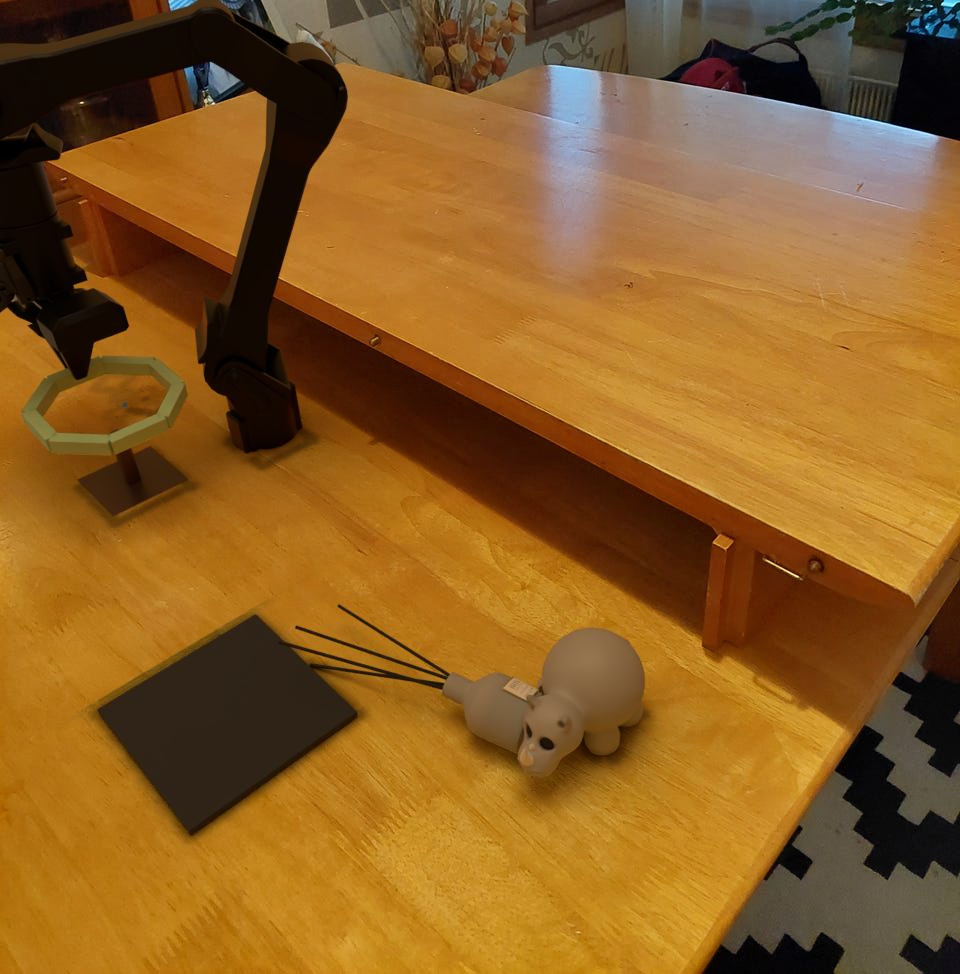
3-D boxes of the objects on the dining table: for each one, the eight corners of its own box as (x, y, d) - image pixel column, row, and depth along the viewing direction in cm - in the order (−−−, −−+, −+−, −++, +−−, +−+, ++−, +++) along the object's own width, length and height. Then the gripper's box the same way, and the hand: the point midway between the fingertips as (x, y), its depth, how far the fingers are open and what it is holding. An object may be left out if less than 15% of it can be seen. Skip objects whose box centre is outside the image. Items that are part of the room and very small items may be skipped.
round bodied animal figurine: (479, 771, 65) (474, 694, 60) (579, 668, 72) (583, 591, 67) (561, 831, 61) (564, 753, 56) (659, 716, 68) (669, 638, 63)
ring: (141, 352, 91) (138, 340, 90) (210, 412, 84) (207, 400, 83) (7, 405, 85) (2, 392, 84) (70, 475, 77) (65, 462, 76)
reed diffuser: (526, 727, 60) (278, 607, 67) (499, 811, 63) (262, 687, 69) (576, 666, 69) (353, 566, 76) (552, 742, 72) (337, 638, 78)
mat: (257, 618, 77) (255, 613, 77) (358, 716, 69) (357, 711, 69) (99, 714, 70) (96, 709, 70) (191, 835, 62) (188, 830, 62)
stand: (153, 453, 96) (136, 400, 92) (191, 486, 92) (175, 433, 88) (79, 487, 92) (59, 434, 88) (115, 524, 88) (95, 470, 84)
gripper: (-114, 212, 79) (-44, 370, 89) (-39, 281, 68) (31, 452, 78) (16, 177, 85) (68, 329, 94) (104, 236, 74) (153, 400, 83)
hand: (77, 375), depth 87 cm, fingers closed on ring, 1 cm apart
